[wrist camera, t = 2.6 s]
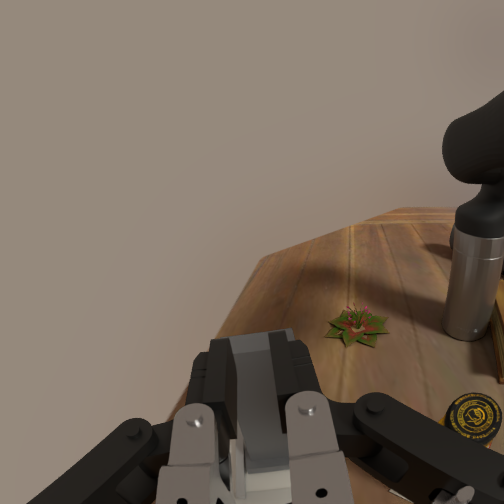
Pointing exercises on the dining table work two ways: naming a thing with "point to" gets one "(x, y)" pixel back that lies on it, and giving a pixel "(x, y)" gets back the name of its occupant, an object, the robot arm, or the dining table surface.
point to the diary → (498, 330)
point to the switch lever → (259, 403)
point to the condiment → (472, 419)
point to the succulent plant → (366, 319)
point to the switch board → (256, 479)
